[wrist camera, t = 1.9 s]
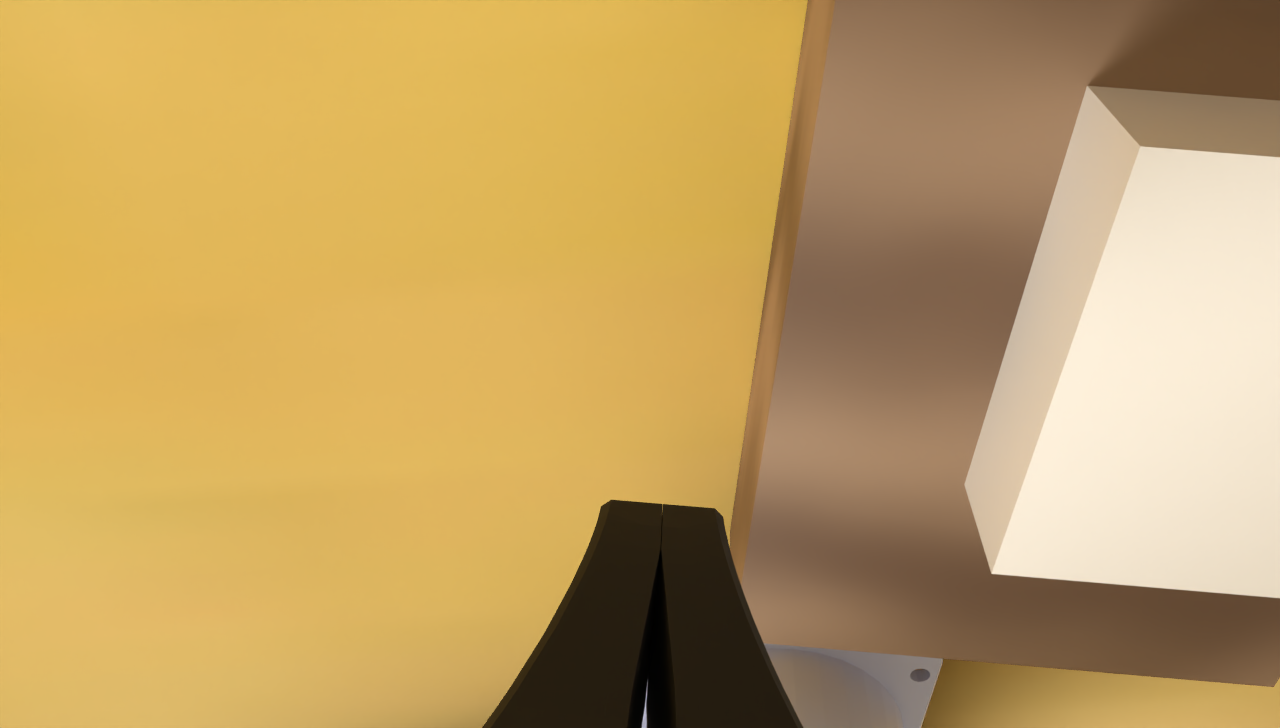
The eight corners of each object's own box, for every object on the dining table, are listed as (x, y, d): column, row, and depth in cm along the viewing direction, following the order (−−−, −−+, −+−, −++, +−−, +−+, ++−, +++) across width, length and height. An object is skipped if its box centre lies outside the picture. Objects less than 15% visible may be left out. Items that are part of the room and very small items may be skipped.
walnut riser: (1211, 572, 26) (1273, 686, 23) (729, 532, 26) (731, 640, 23) (1643, -271, 16) (1850, -256, 13) (856, -329, 16) (888, -326, 13)
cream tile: (1273, 510, 20) (1333, 602, 18) (964, 484, 20) (991, 573, 18) (1483, 116, 16) (1593, 182, 14) (1087, 85, 16) (1140, 145, 14)
